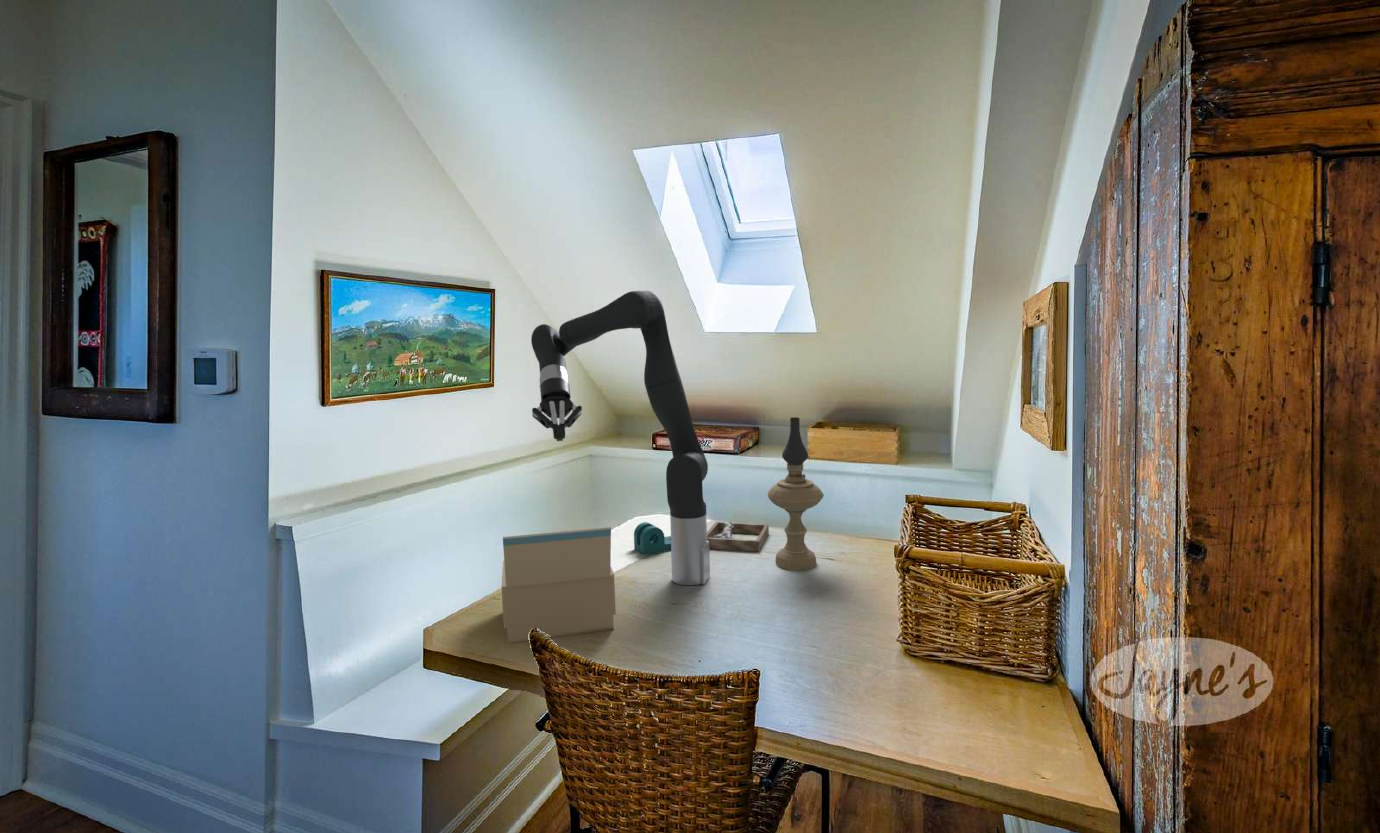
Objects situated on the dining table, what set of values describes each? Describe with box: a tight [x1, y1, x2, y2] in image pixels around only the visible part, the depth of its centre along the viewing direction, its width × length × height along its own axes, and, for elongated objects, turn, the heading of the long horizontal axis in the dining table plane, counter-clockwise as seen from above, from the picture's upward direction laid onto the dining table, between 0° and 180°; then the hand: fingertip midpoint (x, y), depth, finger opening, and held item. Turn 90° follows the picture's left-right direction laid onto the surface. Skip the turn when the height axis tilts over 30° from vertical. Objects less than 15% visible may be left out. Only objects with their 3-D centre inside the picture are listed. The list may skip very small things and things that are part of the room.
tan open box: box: [501, 560, 617, 644], centre depth 149 cm, size 19×23×12 cm
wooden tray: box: [707, 521, 770, 553], centre depth 204 cm, size 17×18×3 cm
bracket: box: [633, 521, 671, 556], centre depth 199 cm, size 18×7×8 cm, turn 118°
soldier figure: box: [713, 521, 734, 539], centre depth 206 cm, size 8×5×12 cm
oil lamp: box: [766, 416, 825, 571], centre depth 180 cm, size 15×15×40 cm
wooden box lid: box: [502, 526, 612, 588], centre depth 136 cm, size 12×21×1 cm
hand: (559, 439), depth 164 cm, fingers closed
